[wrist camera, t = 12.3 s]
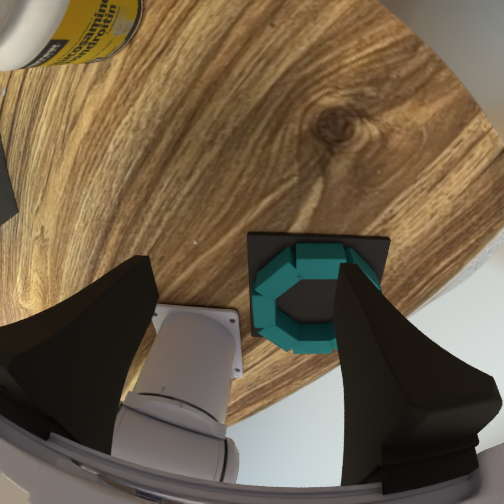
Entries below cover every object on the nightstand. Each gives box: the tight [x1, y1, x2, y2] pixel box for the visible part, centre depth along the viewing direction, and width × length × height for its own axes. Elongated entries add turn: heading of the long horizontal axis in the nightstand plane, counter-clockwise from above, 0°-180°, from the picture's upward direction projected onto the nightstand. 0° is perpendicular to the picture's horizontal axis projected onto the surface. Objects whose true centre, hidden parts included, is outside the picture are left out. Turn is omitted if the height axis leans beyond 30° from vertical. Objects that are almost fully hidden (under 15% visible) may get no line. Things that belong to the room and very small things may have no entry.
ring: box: [252, 243, 382, 354], centre depth 22 cm, size 9×9×2 cm
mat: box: [247, 233, 391, 337], centre depth 23 cm, size 10×10×1 cm
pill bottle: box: [0, 0, 143, 71], centre depth 8 cm, size 6×6×12 cm
